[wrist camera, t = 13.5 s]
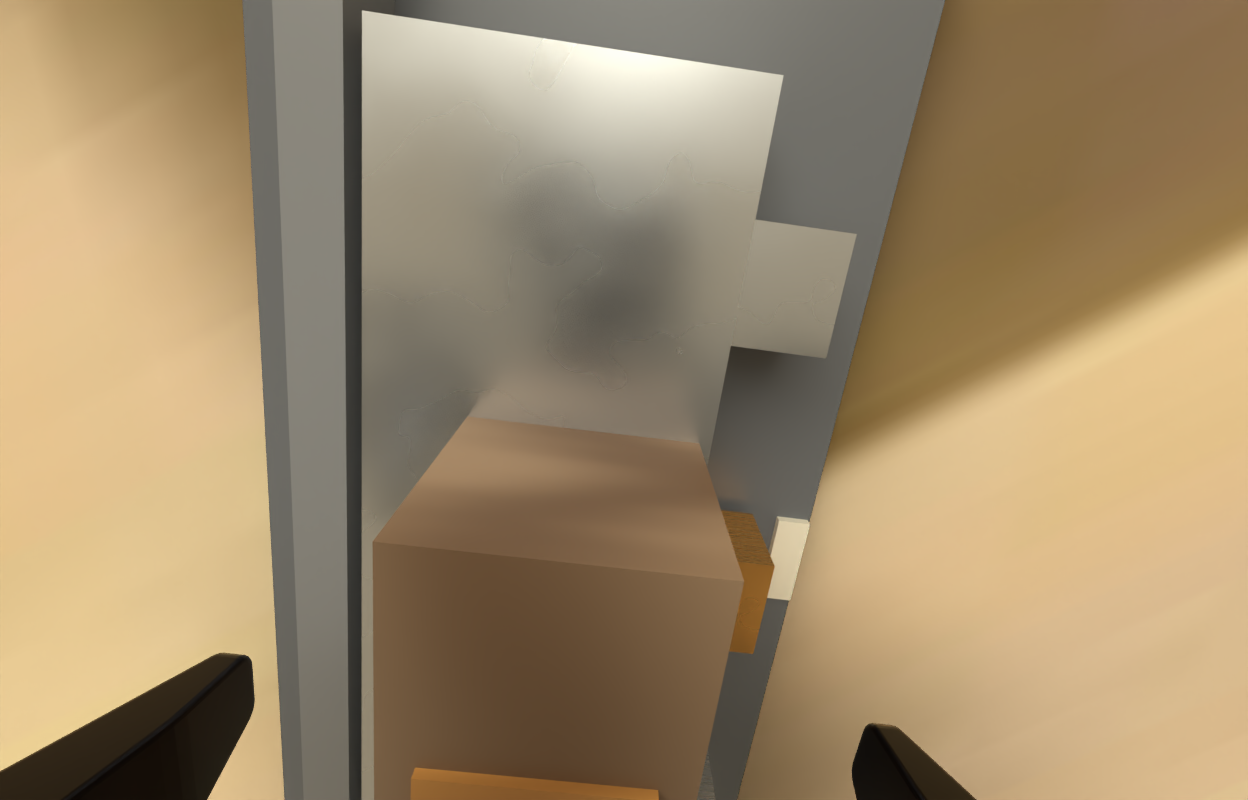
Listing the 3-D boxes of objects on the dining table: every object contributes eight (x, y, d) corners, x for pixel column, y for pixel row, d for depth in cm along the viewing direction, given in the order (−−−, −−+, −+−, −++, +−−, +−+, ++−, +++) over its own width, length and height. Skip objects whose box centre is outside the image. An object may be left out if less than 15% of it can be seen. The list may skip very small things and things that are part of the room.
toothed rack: (843, 113, 10) (1079, 8, 5) (677, 842, 16) (705, 1171, 10) (411, 48, 10) (166, -140, 5) (393, 814, 16) (270, 1137, 10)
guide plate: (938, -65, 11) (1052, -166, 8) (678, 973, 20) (688, 1103, 17) (267, -177, 10) (129, -328, 7) (310, 940, 19) (255, 1069, 16)
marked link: (699, 443, 10) (747, 590, 6) (645, 752, 12) (654, 1007, 8) (467, 416, 10) (366, 549, 6) (452, 734, 12) (370, 985, 8)
